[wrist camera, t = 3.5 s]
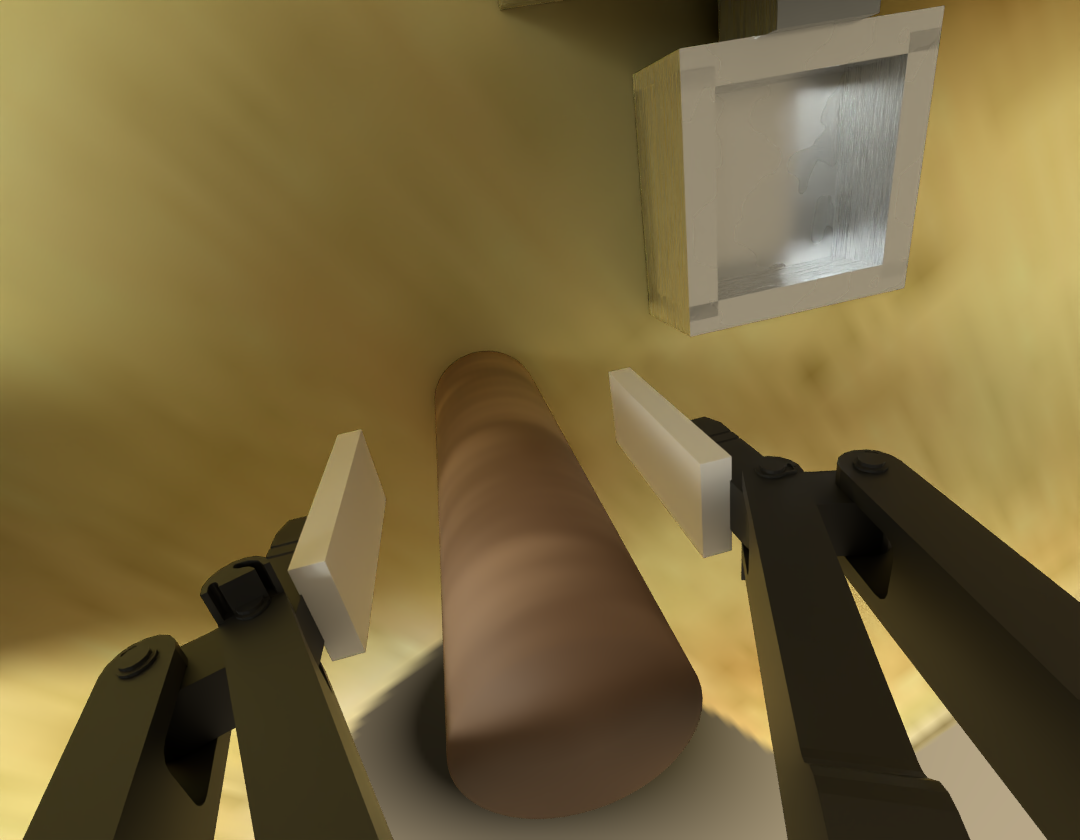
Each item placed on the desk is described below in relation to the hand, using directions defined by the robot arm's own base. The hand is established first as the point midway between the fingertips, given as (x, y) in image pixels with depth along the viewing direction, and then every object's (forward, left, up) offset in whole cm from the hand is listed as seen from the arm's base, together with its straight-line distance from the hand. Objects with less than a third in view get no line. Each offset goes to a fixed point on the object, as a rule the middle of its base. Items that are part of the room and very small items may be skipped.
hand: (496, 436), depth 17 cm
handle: (0, 0, -3) cm, 3 cm away
